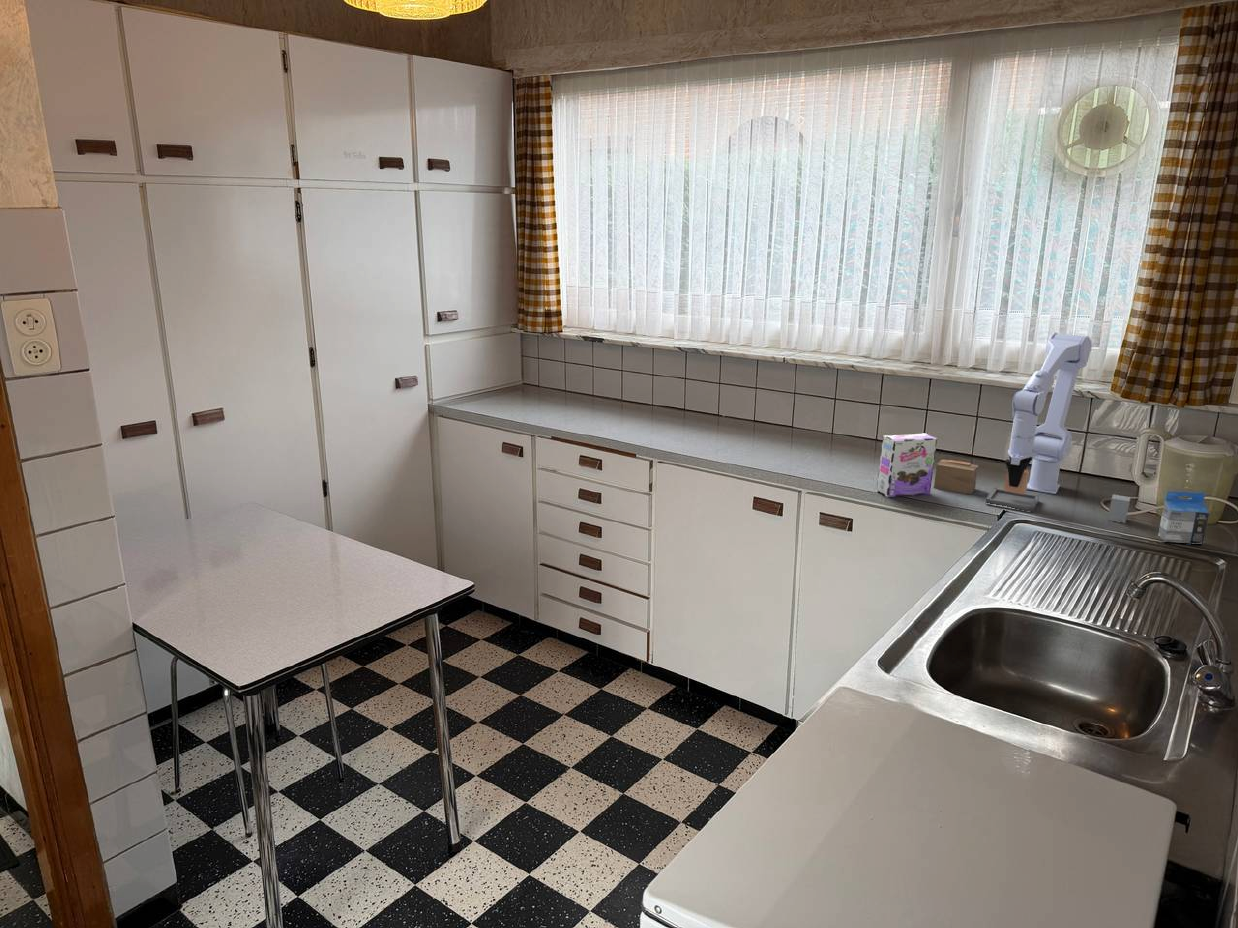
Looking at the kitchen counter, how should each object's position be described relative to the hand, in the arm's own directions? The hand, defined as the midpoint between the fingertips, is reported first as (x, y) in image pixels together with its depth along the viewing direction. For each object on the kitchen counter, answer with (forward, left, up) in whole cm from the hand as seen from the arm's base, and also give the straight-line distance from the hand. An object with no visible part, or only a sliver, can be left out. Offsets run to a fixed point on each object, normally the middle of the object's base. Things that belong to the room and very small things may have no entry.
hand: (1015, 484), depth 236 cm
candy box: (+9, -27, -6) cm, 29 cm away
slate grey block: (-2, +25, -5) cm, 26 cm away
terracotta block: (0, 0, -2) cm, 2 cm away
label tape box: (+7, +39, -6) cm, 40 cm away
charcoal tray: (0, 0, -5) cm, 5 cm away
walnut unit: (-4, -16, -5) cm, 17 cm away
